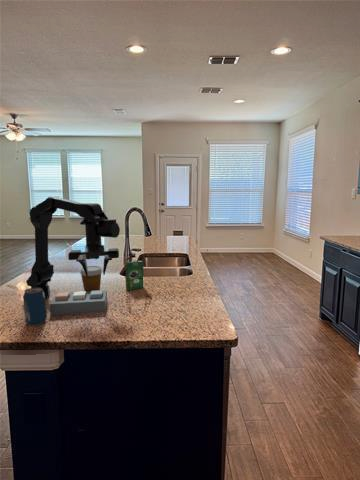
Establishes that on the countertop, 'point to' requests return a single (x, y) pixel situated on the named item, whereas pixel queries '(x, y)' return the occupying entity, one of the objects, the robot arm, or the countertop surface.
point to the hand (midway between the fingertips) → (95, 275)
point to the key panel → (78, 305)
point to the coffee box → (134, 275)
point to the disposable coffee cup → (91, 278)
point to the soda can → (34, 306)
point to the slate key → (96, 294)
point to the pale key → (79, 295)
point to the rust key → (62, 296)
